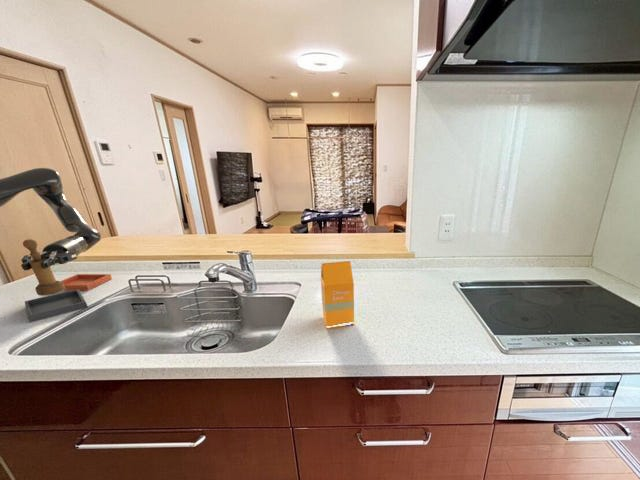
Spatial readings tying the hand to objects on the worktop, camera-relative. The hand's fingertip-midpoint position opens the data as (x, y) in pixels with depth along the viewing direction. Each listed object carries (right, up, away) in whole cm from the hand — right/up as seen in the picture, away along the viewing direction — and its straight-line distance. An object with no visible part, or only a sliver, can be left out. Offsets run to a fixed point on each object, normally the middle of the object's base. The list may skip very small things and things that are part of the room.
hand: (33, 266), depth 93 cm
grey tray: (-1, -14, +8) cm, 16 cm away
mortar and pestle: (-1, -8, +6) cm, 11 cm away
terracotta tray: (-10, -6, +26) cm, 28 cm away
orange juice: (+96, -18, +2) cm, 98 cm away
